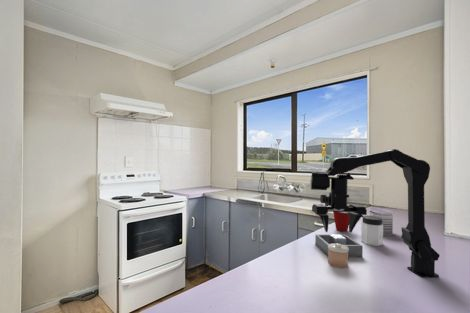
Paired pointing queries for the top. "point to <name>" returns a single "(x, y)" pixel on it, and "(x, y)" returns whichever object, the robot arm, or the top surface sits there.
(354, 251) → the tote
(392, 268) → the top surface
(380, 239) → the jar
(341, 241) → the steel block
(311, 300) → the top surface
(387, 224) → the can
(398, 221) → the top surface
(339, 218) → the plastic cup
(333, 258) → the ceramic canister
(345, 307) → the top surface
